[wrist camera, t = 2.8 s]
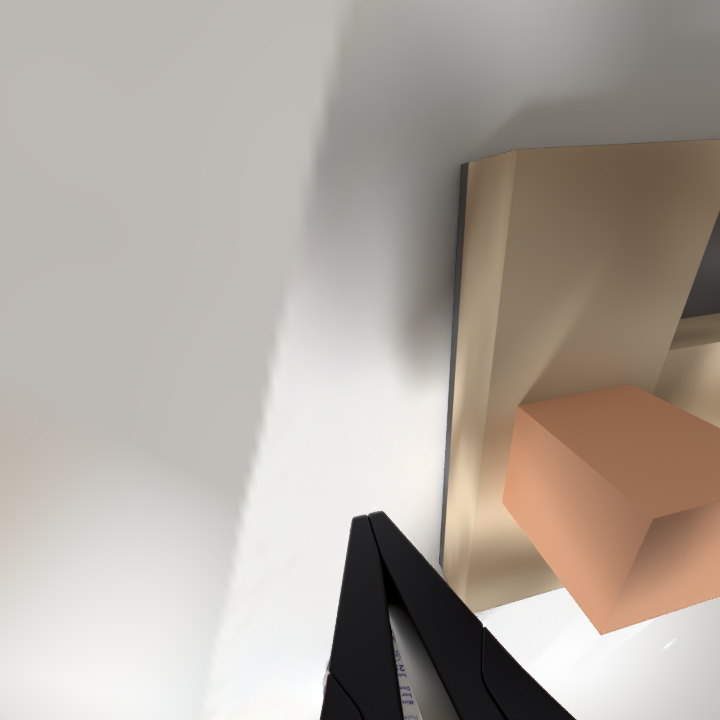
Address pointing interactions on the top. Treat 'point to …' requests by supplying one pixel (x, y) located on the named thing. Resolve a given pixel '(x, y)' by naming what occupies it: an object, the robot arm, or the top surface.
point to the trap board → (570, 320)
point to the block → (619, 501)
